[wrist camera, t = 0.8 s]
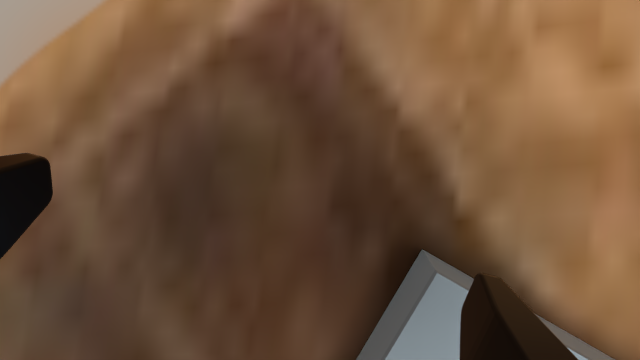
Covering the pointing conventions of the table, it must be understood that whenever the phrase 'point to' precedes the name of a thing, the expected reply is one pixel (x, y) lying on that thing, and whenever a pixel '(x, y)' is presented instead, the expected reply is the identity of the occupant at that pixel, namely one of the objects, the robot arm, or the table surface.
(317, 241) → the table surface
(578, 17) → the table surface
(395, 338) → the grey thick square frame
